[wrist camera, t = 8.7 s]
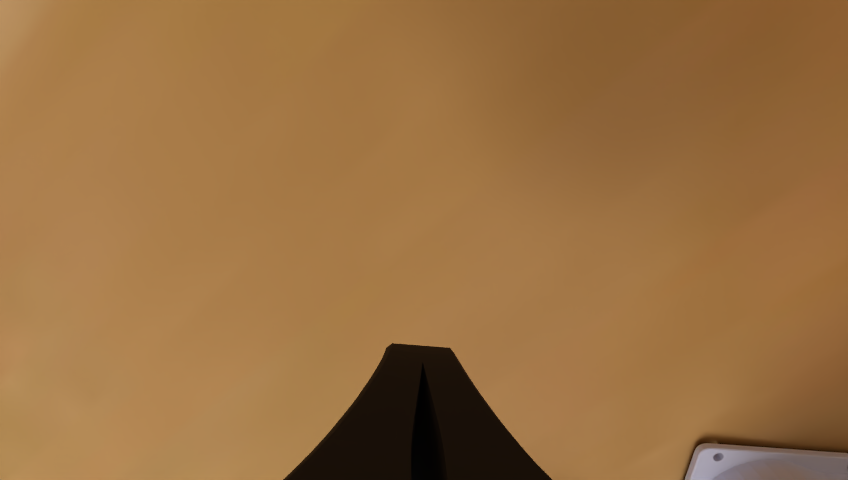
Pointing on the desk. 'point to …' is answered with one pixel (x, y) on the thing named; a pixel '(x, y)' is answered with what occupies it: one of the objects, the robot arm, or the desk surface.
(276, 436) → the desk surface
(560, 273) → the desk surface
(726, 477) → the robot arm
